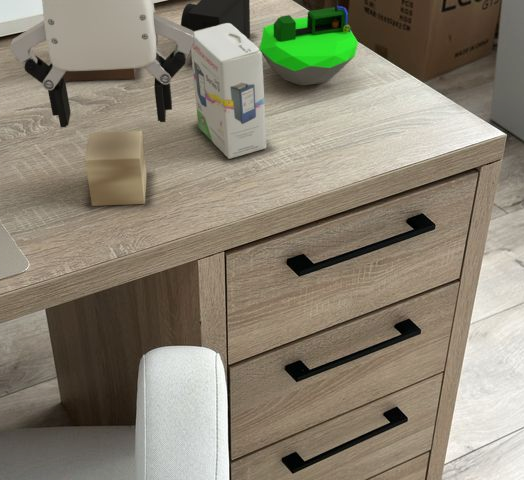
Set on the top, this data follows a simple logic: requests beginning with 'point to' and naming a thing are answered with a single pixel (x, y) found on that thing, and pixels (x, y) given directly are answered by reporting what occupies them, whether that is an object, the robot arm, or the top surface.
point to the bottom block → (100, 75)
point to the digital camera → (217, 15)
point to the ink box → (229, 90)
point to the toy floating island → (309, 45)
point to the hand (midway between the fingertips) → (114, 118)
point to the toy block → (116, 168)
